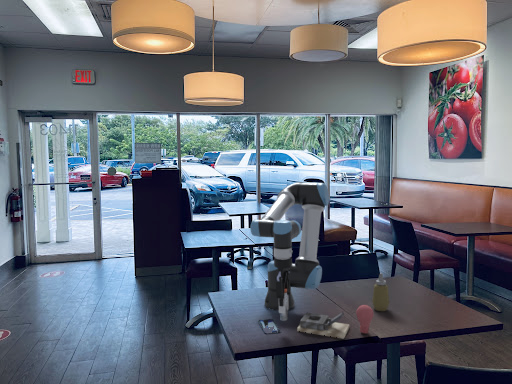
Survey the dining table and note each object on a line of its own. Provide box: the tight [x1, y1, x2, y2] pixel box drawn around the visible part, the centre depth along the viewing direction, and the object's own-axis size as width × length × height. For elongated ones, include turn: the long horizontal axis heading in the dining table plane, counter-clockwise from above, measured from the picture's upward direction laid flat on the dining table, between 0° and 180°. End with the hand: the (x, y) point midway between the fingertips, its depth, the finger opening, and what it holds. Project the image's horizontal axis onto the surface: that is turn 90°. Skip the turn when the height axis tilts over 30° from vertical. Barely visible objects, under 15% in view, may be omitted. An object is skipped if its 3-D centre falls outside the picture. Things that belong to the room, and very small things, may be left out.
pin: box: [279, 288, 288, 322], centre depth 175 cm, size 3×3×14 cm
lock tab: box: [327, 311, 345, 327], centre depth 176 cm, size 9×5×1 cm
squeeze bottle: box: [371, 272, 390, 312], centre depth 201 cm, size 8×8×18 cm
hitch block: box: [296, 312, 350, 340], centre depth 178 cm, size 20×12×4 cm, turn 67°
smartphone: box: [257, 318, 282, 334], centre depth 182 cm, size 7×1×15 cm
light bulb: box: [355, 304, 375, 334], centre depth 174 cm, size 7×7×12 cm
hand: (283, 311), depth 175 cm, fingers closed on pin, 3 cm apart
